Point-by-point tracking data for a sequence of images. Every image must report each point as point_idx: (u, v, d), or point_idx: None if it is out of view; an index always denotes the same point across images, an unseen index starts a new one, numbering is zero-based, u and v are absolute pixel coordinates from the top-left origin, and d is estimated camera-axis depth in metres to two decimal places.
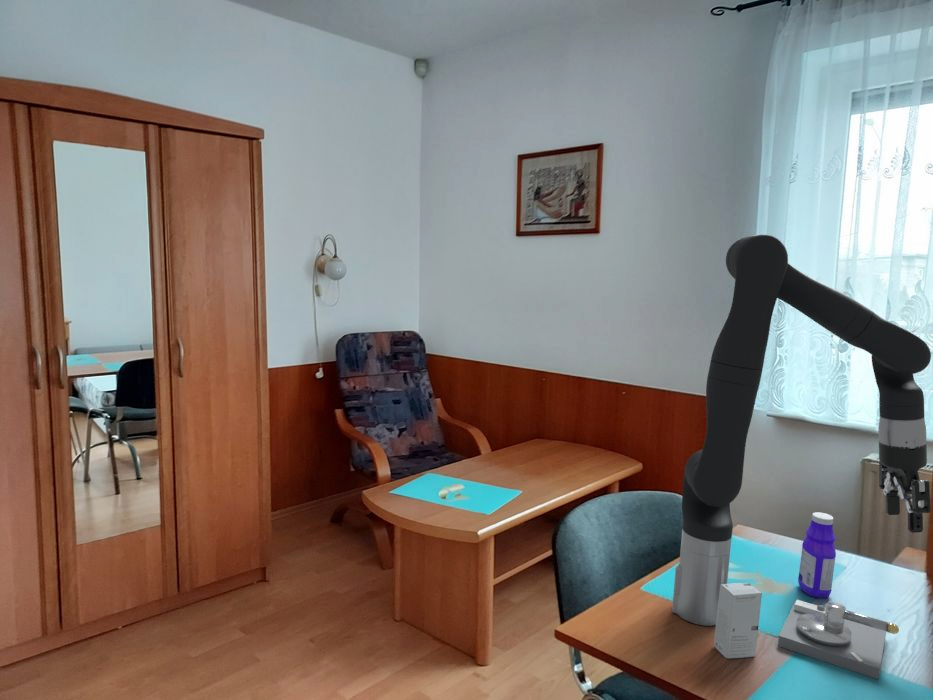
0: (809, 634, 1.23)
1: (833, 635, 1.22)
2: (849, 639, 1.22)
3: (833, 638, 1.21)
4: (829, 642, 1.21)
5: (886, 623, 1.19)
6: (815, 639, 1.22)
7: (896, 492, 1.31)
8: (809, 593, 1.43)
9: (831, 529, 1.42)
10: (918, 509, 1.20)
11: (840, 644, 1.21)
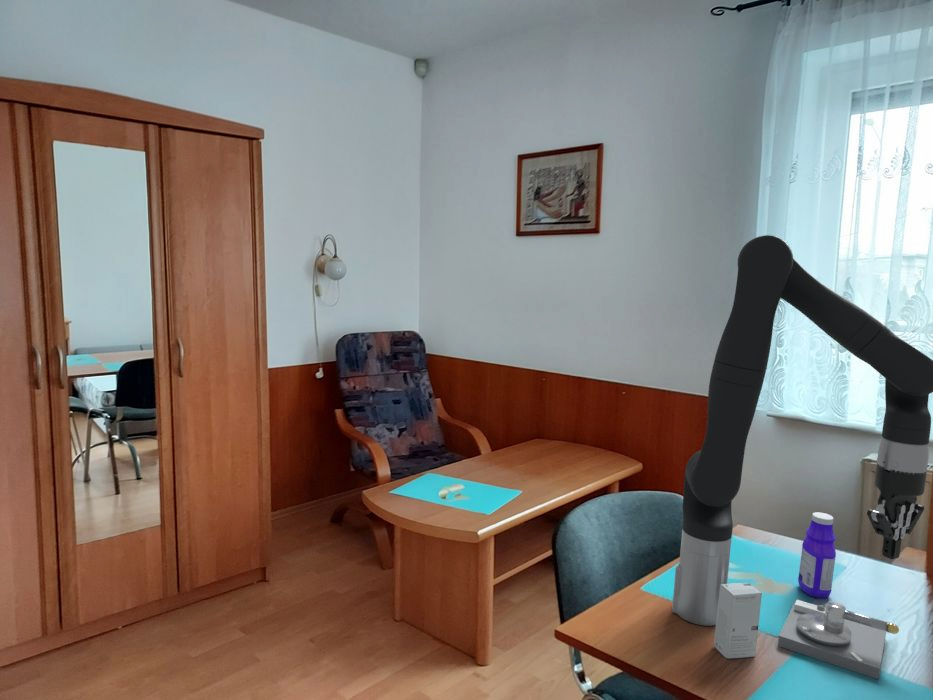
0: (809, 634, 1.23)
1: (833, 635, 1.22)
2: (849, 639, 1.22)
3: (833, 638, 1.21)
4: (829, 642, 1.21)
5: (886, 623, 1.19)
6: (815, 639, 1.22)
7: None
8: (809, 593, 1.43)
9: (831, 529, 1.42)
10: (878, 529, 1.20)
11: (840, 644, 1.21)
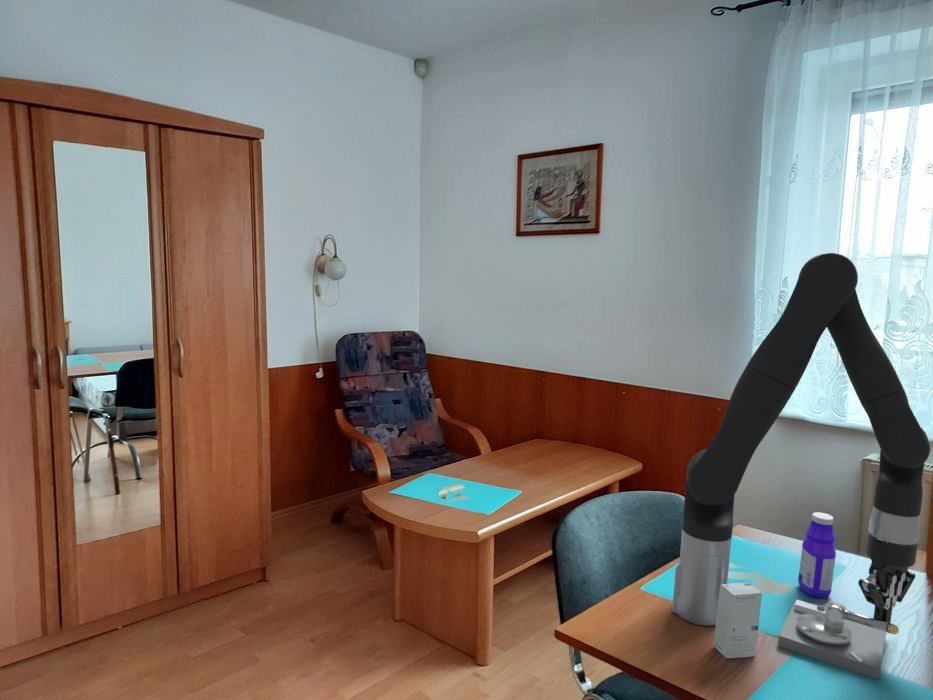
0: (809, 634, 1.23)
1: (833, 635, 1.22)
2: (849, 639, 1.22)
3: (832, 638, 1.21)
4: (828, 642, 1.21)
5: (886, 624, 1.19)
6: (814, 639, 1.22)
7: None
8: (809, 593, 1.43)
9: (831, 529, 1.42)
10: (869, 598, 1.20)
11: (840, 644, 1.21)
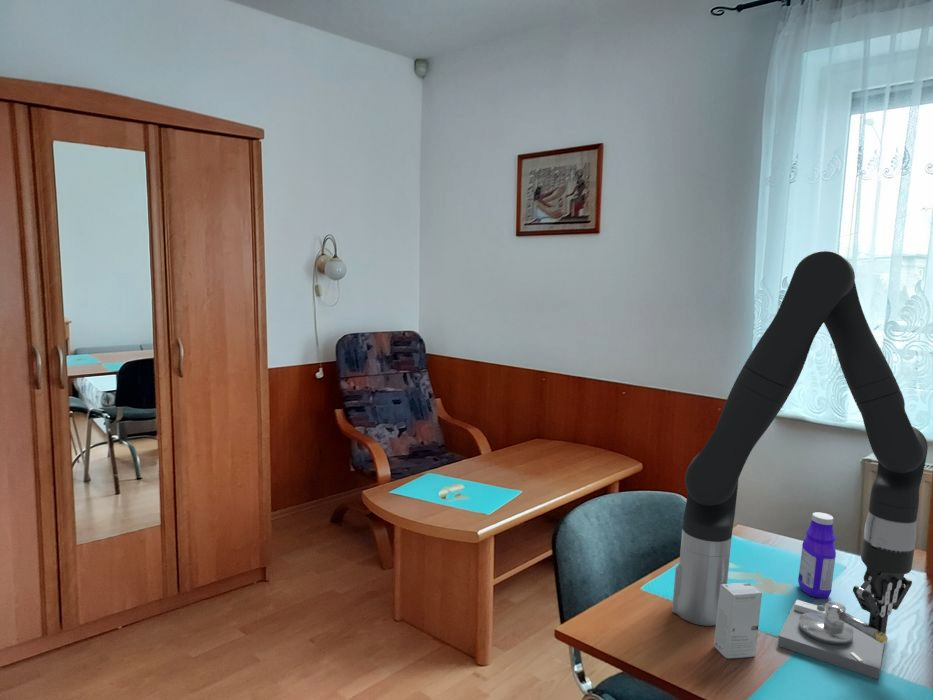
0: (801, 625, 1.26)
1: (825, 632, 1.23)
2: (842, 640, 1.21)
3: (821, 634, 1.22)
4: (816, 636, 1.23)
5: (875, 631, 1.16)
6: (804, 631, 1.25)
7: None
8: (809, 593, 1.43)
9: (831, 529, 1.42)
10: (864, 605, 1.17)
11: (827, 641, 1.21)
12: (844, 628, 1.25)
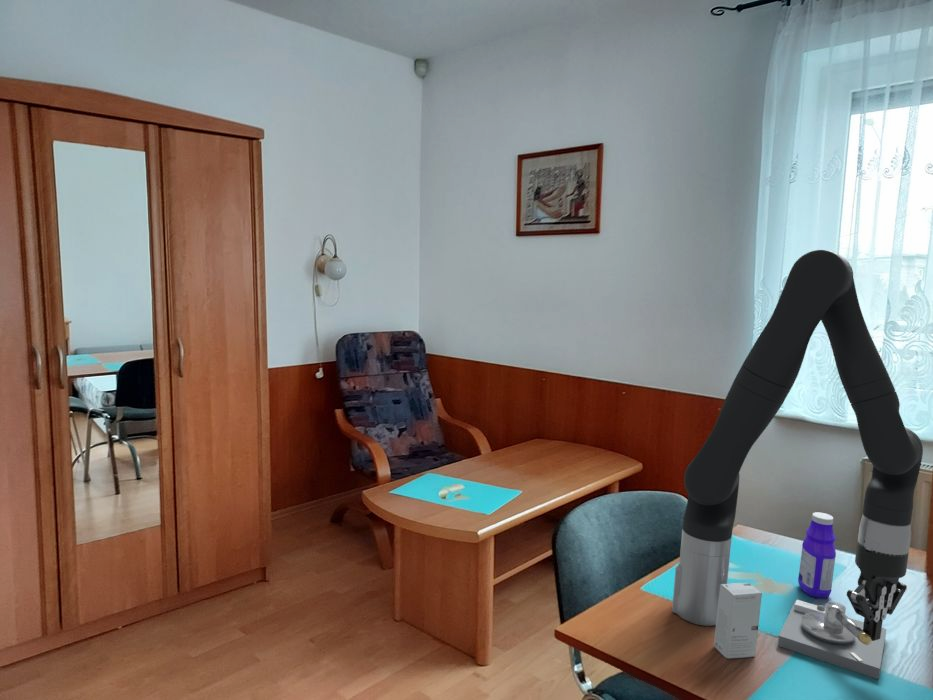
0: (801, 621, 1.27)
1: (821, 630, 1.24)
2: (835, 639, 1.21)
3: (815, 630, 1.24)
4: (810, 631, 1.24)
5: (861, 632, 1.16)
6: (802, 626, 1.26)
7: None
8: (809, 593, 1.43)
9: (831, 529, 1.42)
10: (858, 610, 1.16)
11: (820, 638, 1.22)
12: (847, 630, 1.24)
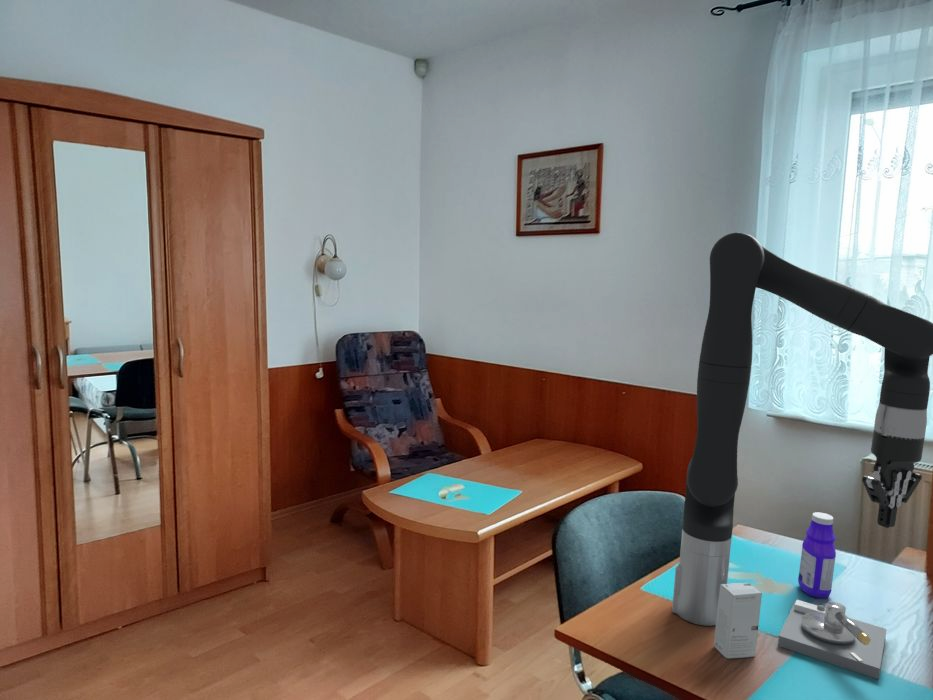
0: None
1: (821, 629, 1.24)
2: (835, 639, 1.21)
3: (815, 630, 1.24)
4: (810, 631, 1.24)
5: (860, 632, 1.16)
6: (802, 626, 1.26)
7: None
8: (809, 593, 1.43)
9: (831, 529, 1.42)
10: (873, 497, 1.18)
11: (820, 638, 1.23)
12: (847, 631, 1.24)
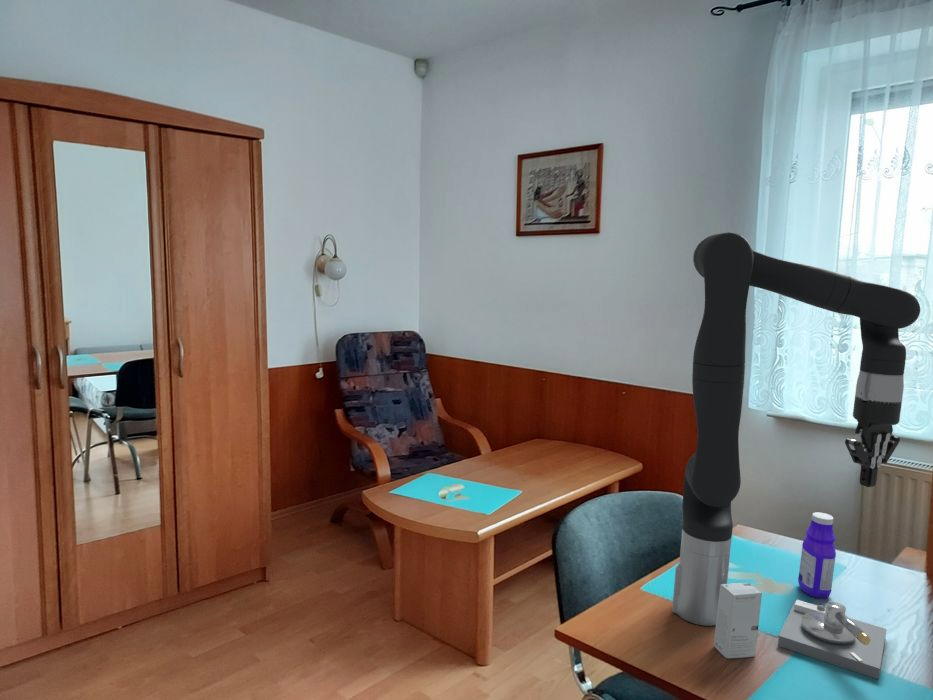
0: None
1: (821, 629, 1.24)
2: (835, 639, 1.21)
3: (815, 630, 1.24)
4: (810, 631, 1.24)
5: (860, 632, 1.16)
6: (802, 626, 1.26)
7: None
8: (809, 593, 1.43)
9: (831, 529, 1.42)
10: (855, 458, 1.26)
11: (820, 638, 1.23)
12: (847, 631, 1.24)
